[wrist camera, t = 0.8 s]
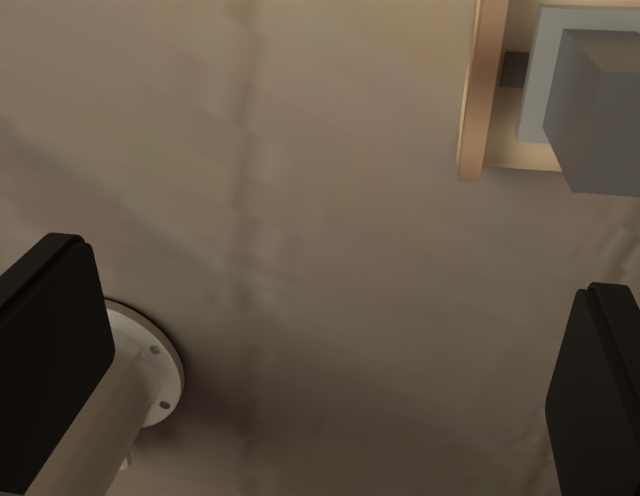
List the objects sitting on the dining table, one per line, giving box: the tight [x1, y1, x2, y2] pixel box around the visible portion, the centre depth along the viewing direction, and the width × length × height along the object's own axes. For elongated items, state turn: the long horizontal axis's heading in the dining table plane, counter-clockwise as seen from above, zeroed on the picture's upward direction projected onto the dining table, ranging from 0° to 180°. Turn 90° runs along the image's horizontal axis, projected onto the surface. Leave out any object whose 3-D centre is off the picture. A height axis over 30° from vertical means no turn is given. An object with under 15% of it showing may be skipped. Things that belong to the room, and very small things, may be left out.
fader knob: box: [515, 4, 640, 197], centre depth 24 cm, size 6×5×8 cm
